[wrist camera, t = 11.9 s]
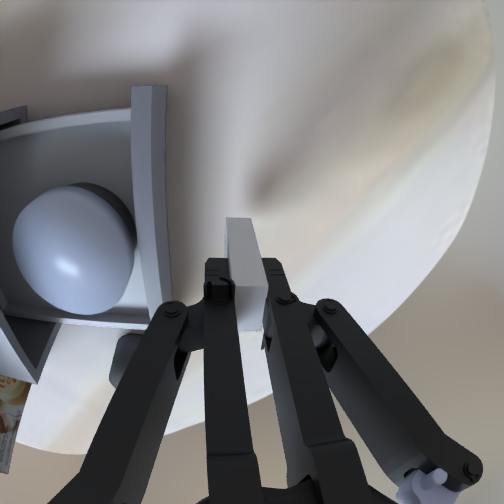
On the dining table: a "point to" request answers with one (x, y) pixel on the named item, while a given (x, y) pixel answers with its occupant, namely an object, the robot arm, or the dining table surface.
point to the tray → (55, 169)
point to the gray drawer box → (23, 329)
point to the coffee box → (10, 415)
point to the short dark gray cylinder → (123, 356)
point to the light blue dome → (74, 250)
